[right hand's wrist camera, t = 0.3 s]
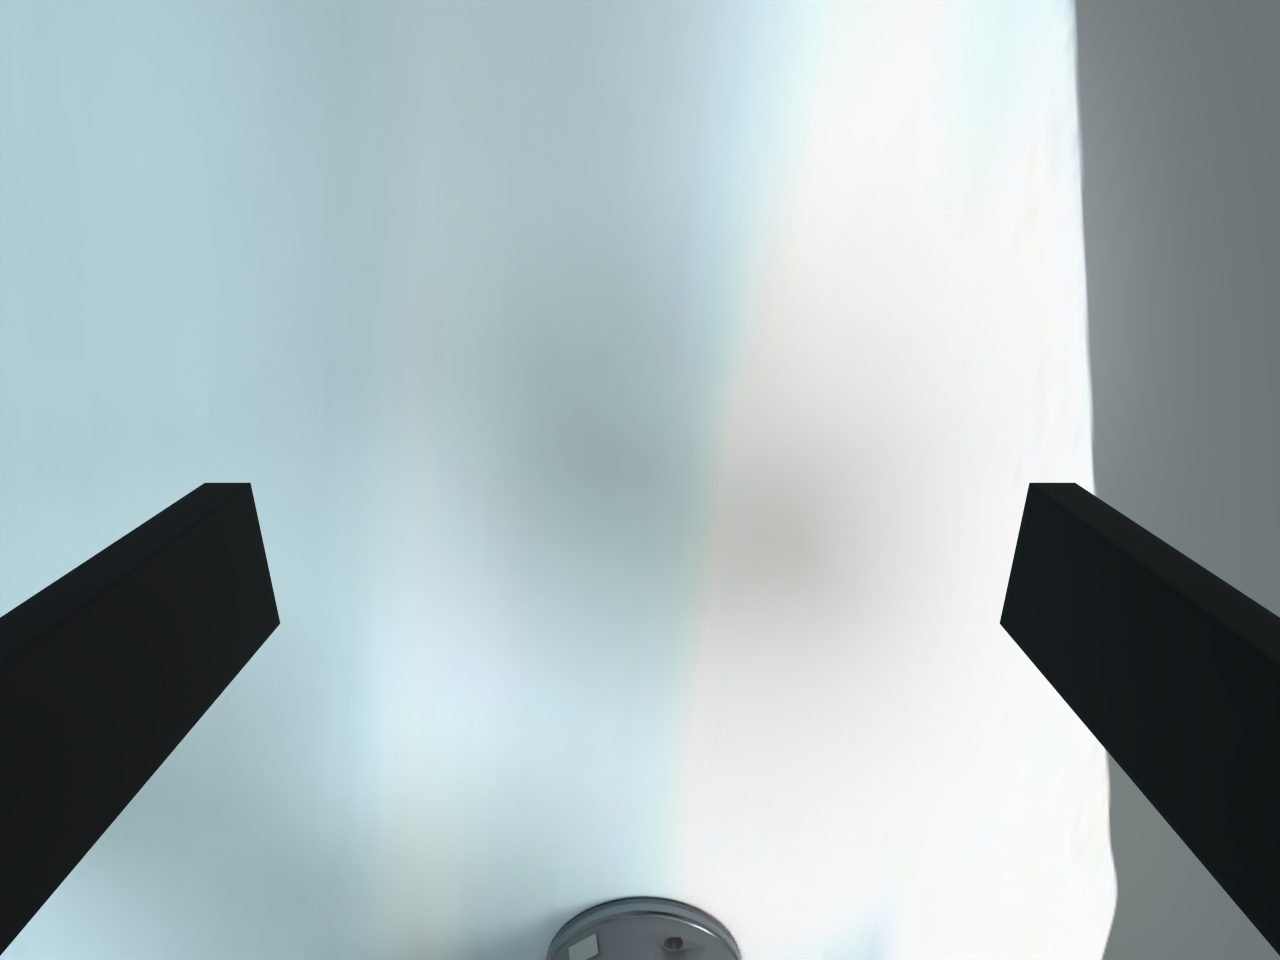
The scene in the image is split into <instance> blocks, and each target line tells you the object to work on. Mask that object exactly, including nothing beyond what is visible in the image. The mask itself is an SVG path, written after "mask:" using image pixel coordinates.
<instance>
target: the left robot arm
mask: <svg viewBox="0 0 1280 960" xmlns="http://www.w3.org/2000/svg"><path fill="white" fill-rule="evenodd" d="M546 960H741V956H740V952H739V949H738V947H737V944H736V943H735V941H734V939H733V938H732V936H731V935H730V933H729V932H728V931H727V930H726V929H725V928H724V927H723V926H722V925H721V924H720V923H719V922H717V921H716V920H715V919H713V918H712V917H710V916H709V915H707V914H705V913H703V912H701V911H699V910H697V909H695V908H692V907H690V906H687V905H684V904H680V903H677V902H672V901H667V900H659V899H629V900H622V901H616V902H612V903H607V904H604V905H601V906H598V907H596V908H593V909H591V910H588V911H587V912H585V913H583V914H581V915H579V916H578V917H576V918H574V919H573V920H572V921H570V922H569V923H568V924H567V925H566V926H565V927H564V928H563V929H562V930H561V931H560V932H559V933H558V934H557V936H556V937H555V939H554V940H553V942H552V944H551V946H550V948H549V951H548V954H547V959H546Z"/></svg>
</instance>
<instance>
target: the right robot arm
mask: <svg viewBox="0 0 1280 960" xmlns="http://www.w3.org/2000/svg"><path fill="white" fill-rule="evenodd" d="M279 624H280V620H279V616H278V611H277V606H276V601H275V597H274V592H273V587H272V582H271V578H270V573H269V568H268V564H267V559H266V554H265V549H264V545H263V540H262V535H261V530H260V526H259V521H258V516H257V512H256V507H255V502H254V497H253V493H252V488H251V483H204V484H203V485H201V486H200V487H198V488H196V489H195V490H193V491H192V492H190V493H189V494H187V495H186V496H184V497H183V498H181V499H180V500H178V501H177V502H175V503H174V504H172V505H171V506H169V507H168V508H166V509H165V510H163V511H162V512H160V513H159V514H157V515H155V516H154V517H152V518H151V519H149V520H148V521H146V522H145V523H143V524H142V525H140V526H139V527H137V528H136V529H134V530H133V531H131V532H130V533H128V534H127V535H125V536H124V537H122V538H121V539H119V540H118V541H116V542H114V543H113V544H111V545H110V546H108V547H107V548H105V549H104V550H102V551H101V552H99V553H98V554H96V555H95V556H93V557H92V558H90V559H89V560H87V561H86V562H84V563H83V564H81V565H80V566H78V567H77V568H75V569H73V570H72V571H70V572H69V573H67V574H66V575H64V576H63V577H61V578H60V579H58V580H57V581H55V582H54V583H52V584H51V585H49V586H48V587H46V588H45V589H43V590H42V591H40V592H39V593H37V594H36V595H34V596H32V597H31V598H29V599H28V600H26V601H25V602H23V603H22V604H20V605H19V606H17V607H16V608H14V609H13V610H11V611H10V612H8V613H7V614H5V615H4V616H2V617H1V618H0V955H1V954H2V953H3V952H4V951H5V949H6V948H7V947H8V946H9V945H10V943H11V942H12V941H13V940H14V939H15V938H16V936H17V935H18V934H19V933H20V932H21V930H22V929H23V928H24V927H25V926H26V924H27V923H28V922H29V921H30V920H31V919H32V917H33V916H34V915H35V914H36V913H37V911H38V910H39V909H40V908H41V907H42V905H43V904H44V903H45V902H46V901H47V900H48V898H49V897H50V896H51V895H52V894H53V892H54V891H55V890H56V889H57V888H58V886H59V885H60V884H61V883H62V882H63V881H64V879H65V878H66V877H67V876H68V875H69V873H70V872H71V871H72V870H73V869H74V867H75V866H76V865H77V864H78V863H79V862H80V860H81V859H82V858H83V857H84V856H85V854H86V853H87V852H88V851H89V850H90V849H91V847H92V846H93V845H94V844H95V843H96V841H97V840H98V839H99V838H100V837H101V835H102V834H103V833H104V832H105V831H106V830H107V828H108V827H109V826H110V825H111V824H112V822H113V821H114V820H115V819H116V818H117V816H118V815H119V814H120V813H121V812H122V811H123V809H124V808H125V807H126V806H127V805H128V803H129V802H130V801H131V800H132V799H133V797H134V796H135V795H136V794H137V793H138V792H139V790H140V789H141V788H142V787H143V786H144V784H145V783H146V782H147V781H148V780H149V778H150V777H151V776H152V775H153V774H154V773H155V771H156V770H157V769H158V768H159V767H160V765H161V764H162V763H163V762H164V761H165V760H166V758H167V757H168V756H169V755H170V754H171V752H172V751H173V750H174V749H175V748H176V746H177V745H178V744H179V743H180V742H181V741H182V739H183V738H184V737H185V736H186V735H187V733H188V732H189V731H190V730H191V729H192V727H193V726H194V725H195V724H196V723H197V722H198V720H199V719H200V718H201V717H202V716H203V714H204V713H205V712H206V711H207V710H208V708H209V707H210V706H211V705H212V704H213V703H214V701H215V700H216V699H217V698H218V697H219V695H220V694H221V693H222V692H223V691H224V689H225V688H226V687H227V686H228V685H229V684H230V682H231V681H232V680H233V679H234V678H235V676H236V675H237V674H238V673H239V672H240V671H241V669H242V668H243V667H244V666H245V665H246V663H247V662H248V661H249V660H250V659H251V657H252V656H253V655H254V654H255V653H256V652H257V650H258V649H259V648H260V647H261V646H262V644H263V643H264V642H265V641H266V640H267V638H268V637H269V636H270V635H271V634H272V633H273V631H274V630H275V629H276V628H277V627H278V625H279ZM1000 624H1001V625H1002V627H1003V628H1004V629H1005V630H1006V631H1007V633H1008V634H1009V635H1010V636H1011V637H1012V638H1013V640H1014V641H1015V642H1016V643H1017V644H1018V646H1019V647H1020V648H1021V649H1022V650H1023V652H1024V653H1025V654H1026V655H1027V656H1028V657H1029V659H1030V660H1031V661H1032V662H1033V663H1034V665H1035V666H1036V667H1037V668H1038V669H1039V671H1040V672H1041V673H1042V674H1043V675H1044V676H1045V678H1046V679H1047V680H1048V681H1049V682H1050V684H1051V685H1052V686H1053V687H1054V688H1055V689H1056V691H1057V692H1058V693H1059V694H1060V695H1061V697H1062V698H1063V699H1064V700H1065V701H1066V703H1067V704H1068V705H1069V706H1070V707H1071V708H1072V710H1073V711H1074V712H1075V713H1076V714H1077V716H1078V717H1079V718H1080V719H1081V720H1082V722H1083V723H1084V724H1085V725H1086V726H1087V727H1088V729H1089V730H1090V731H1091V732H1092V733H1093V735H1094V736H1095V737H1096V738H1097V739H1098V741H1099V742H1100V743H1101V744H1102V745H1103V746H1104V748H1105V749H1106V750H1107V751H1108V752H1109V754H1110V755H1111V756H1112V757H1113V758H1114V759H1115V761H1116V762H1117V763H1118V764H1119V765H1120V767H1121V768H1122V769H1123V770H1124V771H1125V773H1126V774H1127V775H1128V776H1129V777H1130V778H1131V780H1132V781H1133V782H1134V783H1135V784H1136V786H1137V787H1138V788H1139V789H1140V790H1141V792H1142V793H1143V794H1144V795H1145V796H1146V797H1147V799H1148V800H1149V801H1150V802H1151V803H1152V805H1153V806H1154V807H1155V808H1156V809H1157V811H1158V812H1159V813H1160V814H1161V815H1162V816H1163V818H1164V819H1165V820H1166V821H1167V822H1168V824H1169V825H1170V826H1171V827H1172V828H1173V829H1174V831H1175V832H1176V833H1177V834H1178V835H1179V837H1180V838H1181V839H1182V840H1183V841H1184V843H1185V844H1186V845H1187V846H1188V847H1189V849H1190V850H1191V851H1192V852H1193V853H1194V854H1195V856H1196V857H1197V858H1198V859H1199V860H1200V861H1201V863H1202V864H1203V865H1204V866H1205V867H1206V869H1207V870H1208V871H1209V872H1210V873H1211V875H1212V876H1213V877H1214V878H1215V879H1216V881H1217V882H1218V883H1219V884H1220V885H1221V886H1222V888H1223V889H1224V890H1225V891H1226V892H1227V894H1228V895H1229V896H1230V897H1231V898H1232V900H1233V901H1234V902H1235V903H1236V904H1237V905H1238V907H1239V908H1240V909H1241V910H1242V911H1243V913H1244V914H1245V915H1246V916H1247V917H1248V918H1249V920H1250V921H1251V922H1252V923H1253V924H1254V926H1255V927H1256V928H1257V929H1258V930H1259V932H1260V933H1261V934H1262V935H1263V936H1264V937H1265V939H1266V940H1267V941H1268V942H1269V943H1270V945H1271V946H1272V947H1273V948H1274V949H1275V951H1276V952H1277V953H1278V954H1279V955H1280V618H1279V617H1278V616H1276V615H1275V614H1273V613H1272V612H1270V611H1269V610H1267V609H1266V608H1264V607H1263V606H1261V605H1260V604H1258V603H1257V602H1255V601H1254V600H1252V599H1251V598H1249V597H1248V596H1246V595H1244V594H1243V593H1241V592H1240V591H1238V590H1237V589H1235V588H1234V587H1232V586H1231V585H1229V584H1228V583H1226V582H1225V581H1223V580H1222V579H1220V578H1219V577H1217V576H1216V575H1214V574H1213V573H1211V572H1210V571H1208V570H1206V569H1205V568H1203V567H1202V566H1200V565H1199V564H1197V563H1196V562H1194V561H1193V560H1191V559H1190V558H1188V557H1187V556H1185V555H1184V554H1182V553H1181V552H1179V551H1178V550H1176V549H1175V548H1173V547H1172V546H1170V545H1169V544H1167V543H1165V542H1164V541H1162V540H1161V539H1159V538H1158V537H1156V536H1155V535H1153V534H1152V533H1150V532H1149V531H1147V530H1146V529H1144V528H1143V527H1141V526H1140V525H1138V524H1137V523H1135V522H1134V521H1132V520H1131V519H1129V518H1128V517H1126V516H1124V515H1123V514H1121V513H1120V512H1118V511H1117V510H1115V509H1114V508H1112V507H1111V506H1109V505H1108V504H1106V503H1105V502H1103V501H1102V500H1100V499H1099V498H1097V497H1096V496H1094V495H1093V494H1091V493H1090V492H1088V491H1087V490H1085V489H1084V488H1082V487H1080V486H1079V485H1077V484H1076V483H1029V488H1028V493H1027V497H1026V502H1025V507H1024V512H1023V516H1022V521H1021V526H1020V530H1019V535H1018V540H1017V545H1016V549H1015V554H1014V559H1013V564H1012V568H1011V573H1010V578H1009V582H1008V587H1007V592H1006V597H1005V601H1004V606H1003V611H1002V616H1001V620H1000Z"/></svg>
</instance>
